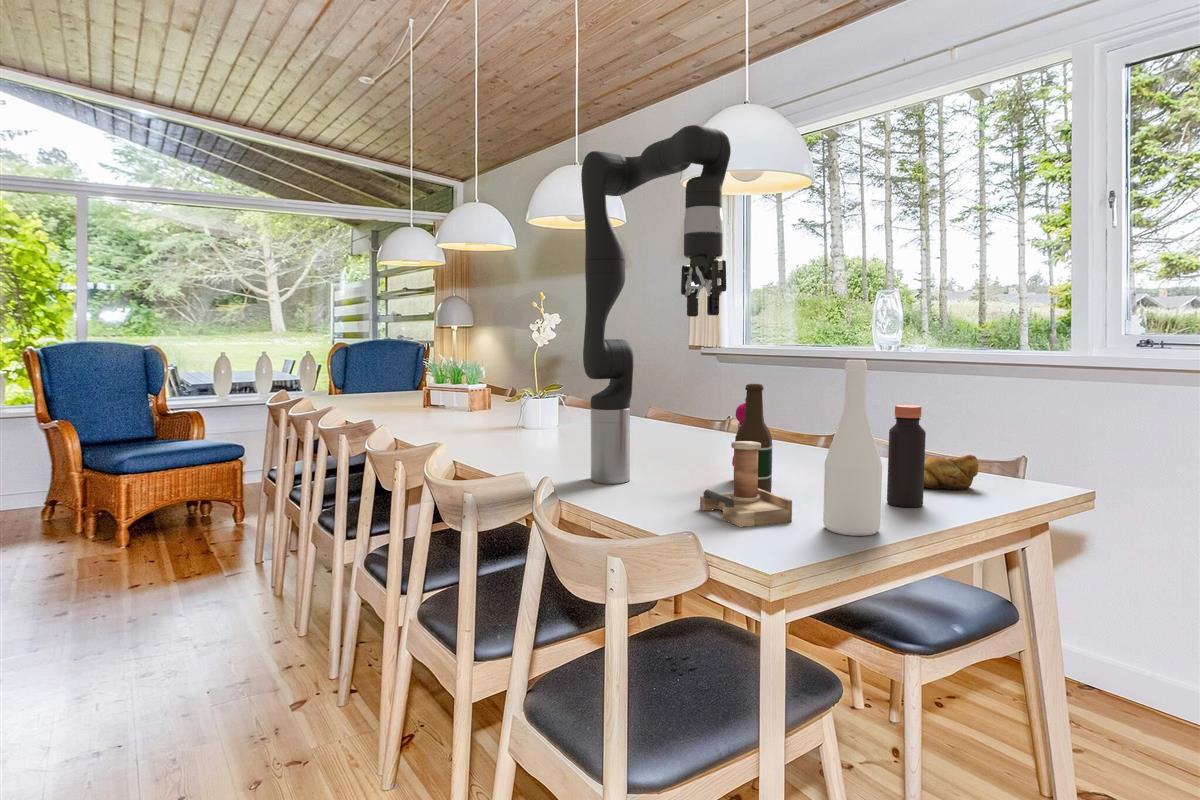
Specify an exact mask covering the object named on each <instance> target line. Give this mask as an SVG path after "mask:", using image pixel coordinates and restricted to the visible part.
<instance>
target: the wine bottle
mask: <svg viewBox="0 0 1200 800" xmlns="http://www.w3.org/2000/svg"><path fill="white" fill-rule="evenodd" d="M844 373H845V387H844V389H845V390H844V391H845V392H844V406H843V410H842V414H841V416H840V419H839V422H838V424H837V425H838V426H837V428H836V431H835V433H834V435H833V439H832V440H831V444H830V446H829V448H828V451H827V453H826V454H827V455H826V457H825V460H824V472H823V473H824V474H823V475H824V476H823V477H824V479H823V481H824V482H823V484H824V485H823V512H822V513H823V518H822V519H823V526H824V527H825V528H826V530H828V531H830V532H832V533H834V534H835V533H836V534H838V535H844V536H852V537H854V536H855V537H864V536H865V537H866V536H872V535H875V534H876V533H878V531H880V528H881V518H882V517H881V515H882V514H881V512H882V485H883V483H882V482H883V481H882V480H883V463H882V459H881V455H880V451H879V448H878V446H877V443H876V439H875V436H874V434H873V431H872V430H873V429H872V427H871V423H870V420H869V418H868V413H867V409H866V374H867V373H868V364H867V361H866V359H846V363H844Z"/></svg>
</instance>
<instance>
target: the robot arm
mask: <svg viewBox="0 0 1200 800" xmlns="http://www.w3.org/2000/svg"><path fill="white" fill-rule="evenodd" d="M730 140H731V139H730V138H729V135H728V134H727V133H726V132H725V131H724V130H723V129H718V128H716V127H715V128H714V127H709V126H704V125H699V124H690V125H687V126H684V127H682V128H681V129H679V130H678V131H677V132H675V133H674V134H673V135H671V137H668V138H664V139H661V140H658V141H655V142H653V143H652V144H649V145H648V146H647V147H646V148H645V149H644V150H643V151H642V152H641V155H639V156H622V155H621V154H617V153H616V154H615V153H613V152H612V153H611V152H610V153H609V152H605V151H598V150H595V151H594V150H593V151H590V152H588V153H587V155H585V157H584V159H583V162H582V167H581V174H580V175H581V180H580V181H581V190H582V191H581V193H582V203H583V211H584V212H583V213H584V228H585V230H584V232H585V237H584V238H585V253H584V254H585V255H584V256H585V258H584V266H585V268H584V270H585V273H584V274H585V276H584V277H585V322H584V324H585V325H584V335H583V336H584V337H583V348H582V349H583V350H582V362H583V363H582V364H583V368H584V372H585V374H586V376H587V377H588V378H589V379H590V380H609V383H608V385H607V386H606V387H605V388H604V389H603V390H601V391H599V392H597V393H595V394H593V395H592V396H591V397H590V480H591V482H594V483H597V484H607V485H608V484H613V485H614V484H623V483H624V484H625V483H628V482H630V480H631V479H630V476H631V473H630V472H631V471H630V470H631V469H630V468H631V429H630V428H631V421H630V420H631V412H630V411H631V408H630V407H631V399H632V395H633V377H634V352H633V348H632V346H631V344H630V342H629V341H627V340H625V339H623V338H622V339H615V338H612V339H610V338H609V339H608V338H607V339H606V338H605V331H606V324H607V319H608V316H609V314H610V312H611V310H612V308H613V307H614V304H615V303H616V302H617V300H618V298H619V296H620V294H621V293H622V290H623V288H624V286H625V283H626V282H625V281H626V254H625V253H626V252H625V249H624V246H623V243H622V242H621V240H620V237H619V236H618V233H617V231H616V230H615V228H614V226H613V223H612V222H611V220H610V217H609V213H608V208H607V197H608V196H610V197H620V196H623V195H625V194H628V193H629V192H631V191H633V190H634V189H636V188H638V187H640V186H642V185H644V184H646V183H648V182H650V181H653V180H655V179H659V178H662V177H667V176H671V175H674V174H677V173H681V172H683V171H685V170H686V169H688V168H690V166H691V164H692V165H693V164H694V165H700V166H702V169H701V170H702V171H701V173H700V175H698V176H694V177H691V178H689V179H688V180H687V182H686V185H685V213H684V218H683V219H684V220H683V256H684V257H685V258H687V259H689V260H690V262H689V264H688V265H687V264H686V265H685V264H683V265H682V266H681V275H680V277H681V279H680V280H681V283H680V284H681V285H680V294H681V296H685V298H686V316H687V317H691V318H692V317H698V315H699V294H700V291H701V290H702V289H704V288H705V291H706V293H707V298H706V300H707V301H706V302H707V303H706V310H707V311H706V314H707V316H718V315H720V296H721V295H722V292H726V291H727V261H726V259H717V258H721V257H722V256H723V249H724V248H723V245H724V244H723V243H724V241H723V236H724V235H723V234H724V220H723V218H724V217H723V209H722V208H723V207H722V206H723V196H722V195H723V185H724V181H725V178H726V173H727V170H728V167H729V162H730V158H731V153H732V144H731V141H730Z"/></svg>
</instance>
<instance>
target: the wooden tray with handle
mask: <svg viewBox="0 0 1200 800" xmlns="http://www.w3.org/2000/svg"><path fill="white" fill-rule="evenodd" d="M732 493H733V492H731V493H724V494H723V493H722V494H721V493H717V492H716V491H712V490H710V489H705V490H704V491H703V495H700V496H699V509H700V508H701V509H700V510H702V509H703V510H702V511H704V510H710V511H713V510H712V509H720V510H722V511H723V512H722V511H721V512H722V520H723V519H725V520H727V521H729V522H731V523H730V524H732V523H733V524H732V525H734V524H735V525H734V526H736V525H737V526H736V527H738V526H739V527H738V528H744V527H743V526H747V527H754V526H755V525H757V526H766V525H773V524H783V523H791V522H792V521H793V518H792V517H793V500H792V499H790V498H787V497H785V496H781V495H779V494H775V493H773V492H771V493H770V492H767V491H765V490H762V489H759V488H758V494H759V495H760V501H758V502H752V503H745V502H736V501H733V500H732V499H731V494H732ZM720 510H719V511H720ZM725 520H724V521H725ZM727 521H726V522H727ZM729 522H728V523H729Z"/></svg>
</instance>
